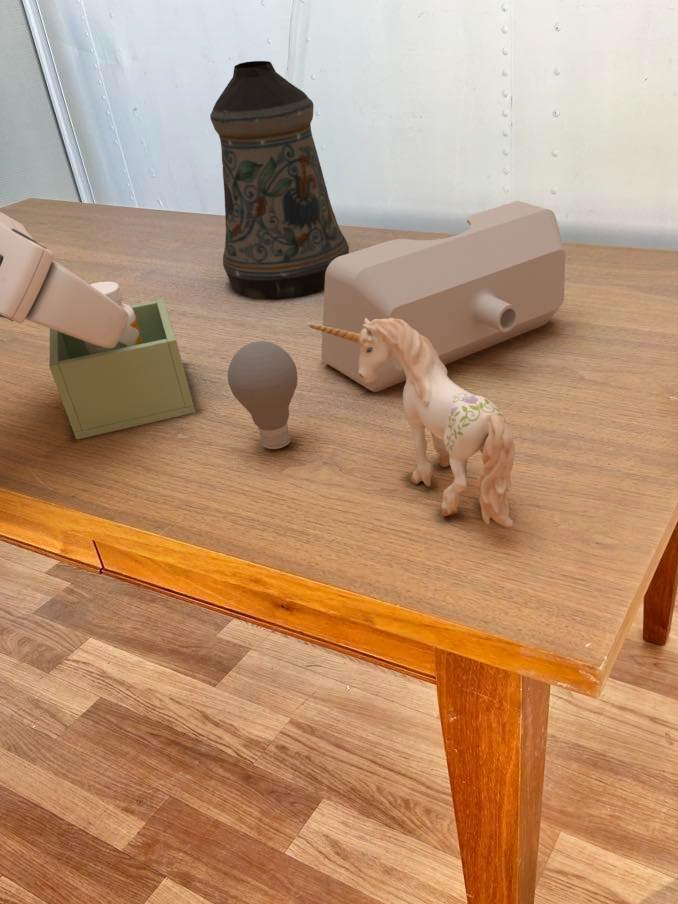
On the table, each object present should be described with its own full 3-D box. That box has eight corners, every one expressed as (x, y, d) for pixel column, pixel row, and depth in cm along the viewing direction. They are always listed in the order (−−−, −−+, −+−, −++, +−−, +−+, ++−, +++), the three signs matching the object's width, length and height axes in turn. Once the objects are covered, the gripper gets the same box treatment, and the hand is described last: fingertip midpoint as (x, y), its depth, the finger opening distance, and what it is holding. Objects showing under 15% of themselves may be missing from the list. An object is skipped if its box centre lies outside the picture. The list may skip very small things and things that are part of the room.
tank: (407, 421, 79) (394, 292, 72) (320, 366, 90) (302, 249, 83) (598, 339, 90) (605, 219, 82) (500, 299, 101) (498, 190, 93)
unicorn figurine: (387, 434, 78) (371, 293, 70) (562, 508, 66) (568, 350, 58) (329, 468, 74) (305, 323, 66) (504, 553, 62) (502, 391, 54)
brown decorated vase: (286, 310, 103) (245, 82, 88) (189, 283, 114) (138, 75, 99) (376, 267, 113) (354, 54, 98) (279, 245, 124) (245, 50, 109)
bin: (76, 440, 82) (49, 366, 77) (74, 390, 91) (49, 321, 86) (195, 412, 84) (176, 339, 79) (181, 366, 93) (163, 298, 88)
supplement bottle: (130, 365, 89) (102, 275, 83) (163, 376, 86) (138, 283, 80) (88, 387, 86) (56, 294, 80) (122, 398, 83) (92, 303, 77)
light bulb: (232, 459, 76) (207, 357, 70) (263, 426, 81) (242, 327, 75) (291, 467, 74) (271, 362, 68) (319, 433, 79) (303, 332, 73)
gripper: (-76, 270, 79) (56, 333, 90) (12, 321, 66) (154, 387, 77) (-48, 208, 78) (82, 279, 89) (46, 247, 66) (184, 324, 77)
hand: (116, 329), depth 83 cm, fingers closed on supplement bottle, 5 cm apart
